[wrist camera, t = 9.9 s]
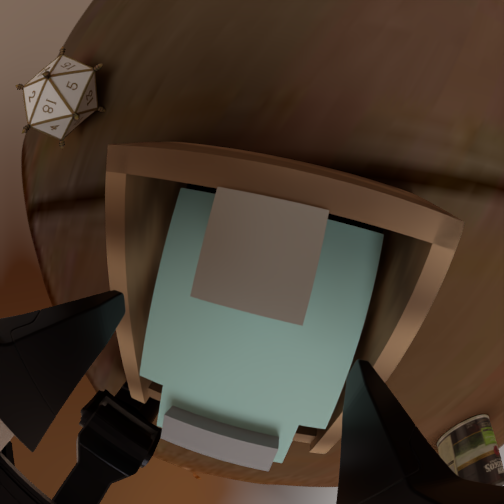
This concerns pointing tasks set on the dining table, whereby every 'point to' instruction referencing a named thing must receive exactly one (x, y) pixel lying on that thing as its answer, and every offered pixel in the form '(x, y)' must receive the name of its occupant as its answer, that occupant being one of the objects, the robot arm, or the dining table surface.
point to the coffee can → (473, 451)
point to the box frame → (287, 188)
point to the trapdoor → (252, 346)
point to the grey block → (260, 255)
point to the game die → (60, 97)
